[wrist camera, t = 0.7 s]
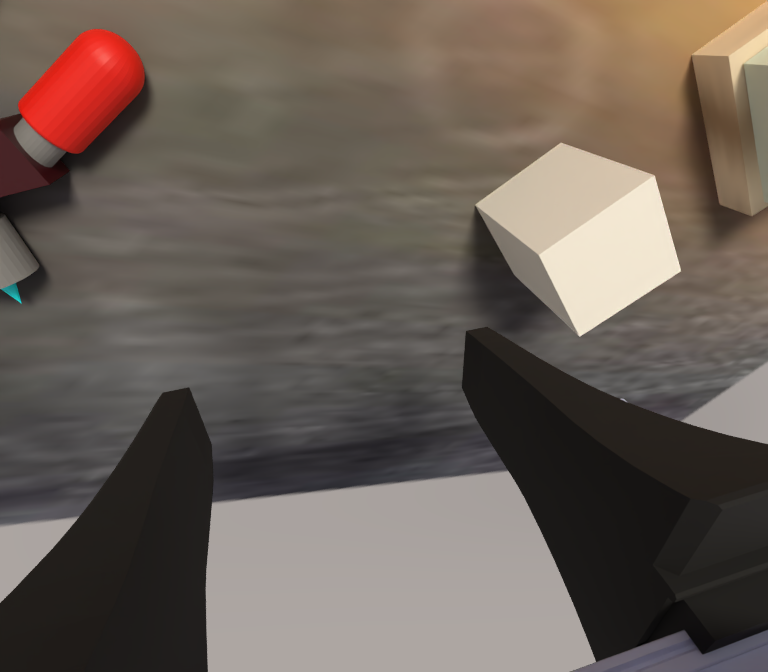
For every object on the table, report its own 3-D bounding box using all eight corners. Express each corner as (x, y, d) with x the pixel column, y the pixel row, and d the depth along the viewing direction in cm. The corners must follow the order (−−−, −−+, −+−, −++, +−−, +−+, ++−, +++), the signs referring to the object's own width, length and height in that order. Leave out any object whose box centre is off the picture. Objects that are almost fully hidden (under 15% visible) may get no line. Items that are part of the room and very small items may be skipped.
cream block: (591, 221, 23) (681, 270, 18) (513, 274, 24) (579, 336, 19) (560, 142, 21) (654, 175, 16) (474, 204, 21) (538, 254, 16)
